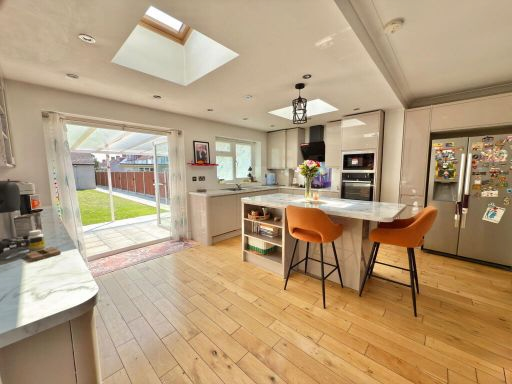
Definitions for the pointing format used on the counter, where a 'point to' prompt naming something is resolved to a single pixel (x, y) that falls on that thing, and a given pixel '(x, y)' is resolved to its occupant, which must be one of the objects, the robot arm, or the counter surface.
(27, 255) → the walnut trivet
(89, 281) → the counter surface
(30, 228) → the coffee box
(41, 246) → the supplement bottle
